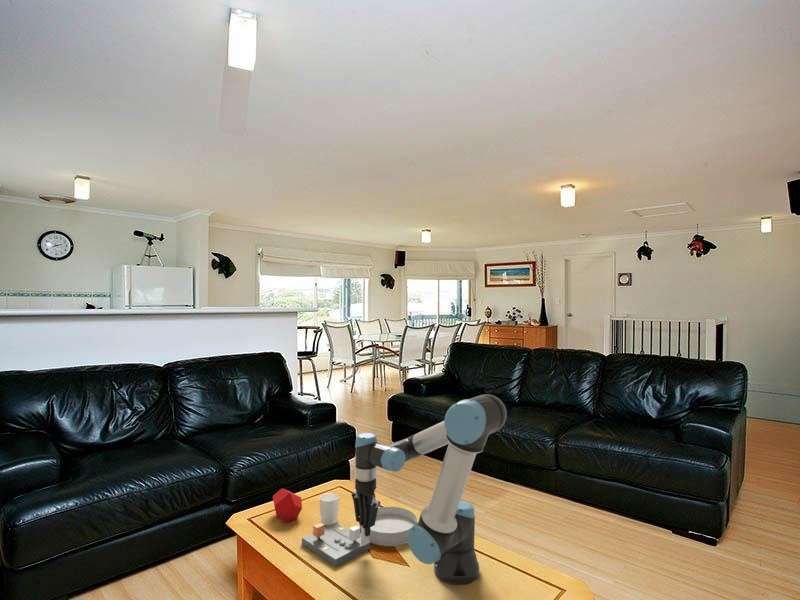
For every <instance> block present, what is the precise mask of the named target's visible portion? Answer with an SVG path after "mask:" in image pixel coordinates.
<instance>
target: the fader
mask: <svg viewBox="0 0 800 600" xmlns="http://www.w3.org/2000/svg"><path fill="white" fill-rule="evenodd" d="M324 528H325V525H324V524H322V523H321V522H319V523H316V524H314V525H313V529H312V530H313V531H312V533H313V536H315V537H317V538H318V539H320V536H322V535H324Z"/></svg>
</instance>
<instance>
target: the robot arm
mask: <svg viewBox="0 0 800 600" xmlns="http://www.w3.org/2000/svg"><path fill="white" fill-rule="evenodd" d="M507 412H508V411H507V408H506V406H505V403H503V401H502V400H501V399H500V398H499V397H497V396H496V395H493V394H489V393H488V394H481V395H477V396H474V397H472V398H469V399H467V398H466V399H462V400H459V401H458V402H456V403H454V404H452V405H451V406H450V407H449V408H448V409H447V411H446V413H445V416H444V420H442V421H441V422H439V423H436V424H434V425H432V426H430V427H428V428H426V429H423V430H421V431H419V432H417V433H415V434H412V435H411V436H408V437H406V438H403V439H401V440H398V441H395V442H392V443H389V444H383V443H380V442H378V438H377V437H378V436H377V434H375V433H371V432H363V433H358V435H357V436H356V438H355V446H354V448H355V451H354V452H355V458H354V459H355V468H354V469H355V470H354V471H355V472H354V477H355V480H354V485H355V486H354V488H355V490H356V491H355V492H352V493H351V498H352V501H353V508H354V514H355V515H354V516H355V521H356V522H358V524H359V527H360V536H361V545H363V546H364V545H366V544H368V543H369V535H370V527H372V526H374V525H375V521H376V516H377V511H378V508H380V505H381V502H380V500H377V499H376V494H375V491H376V489H377V468H378V467H379V468H381V469H384V470H385V471H389V472H390V471H391V472H394V473H396V472H399V471H401V470H402V468H404V465H405V463H406V462H409V461H411V460H414V459H416V458H420V457H421V456H423V455H426V454H428V453H431V452H433V451H435V450H437V449H439V448H442V447H444V446H445V447H446V446H447V445H448V446H447V448H446V451H445V454H444V457H443V461H442V463H441V467H440V470H439V474H438V476H437V478H436V479H437V480H436V482H435V485H434V488H433V490H432V491H433V492H432V494H431V497H430V500H429V504H428V505H427V506H425V507H423V508H422V510H421V513H420V516H419V518H418V520H417V525H414V526H413V527H412V528H411V529H410V530H409V532H408V543H407V544H408V546H409V548H410V551H411V553H412V554H413V556H414V557H415V558H416V559H417V560H418V561H419V562H420V563H422V564H423V565H424V564H425V565H432V564H434V565H433V571H434V574H435V575H436V577H437V578H439V579H440V580H442V581H443V582H445V583H448V584H452V585H467V584H471V583H473V582H475V581H476V580H477V579H478V578H479V577H480V564H479V561H478V558H477V554H476V551H475V530H476V529H475V521H476V520H475V519H476V515H475V508H474V506H473V505H472V503H470V502H468V501H465V500H462V497H463V494H464V491H465V488H466V485H467V483H468V479H469V477H470V473H471V471H472V468H473V464H474V462H475V459H476V456H477V455H478V454H480V453H483V451H484V450H485V446H486V443H487V440H488V438H489V436H490V435H492V434H494V433H496V432H497V431H499V430H501V429H502V428H503V426H504V425H505V423H506V420H507V418H508V417H507V415H508V414H507Z"/></svg>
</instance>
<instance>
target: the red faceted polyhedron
mask: <svg viewBox="0 0 800 600" xmlns="http://www.w3.org/2000/svg"><path fill="white" fill-rule="evenodd" d="M272 501H273V505H274V510H275V515H276V519H278V520H280V521H281V522H284V523H287V522H290V521H293V520H296V519H298V518H299V515H300V513H301V511H302V510H303V504H302V503H303V501H302V497H301V496H300V495H297V494H296V493H293V492H292V491H289V490H287V489H285V488H281V489H279V490H278V491H277V492H276V493H274V495H272Z"/></svg>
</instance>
